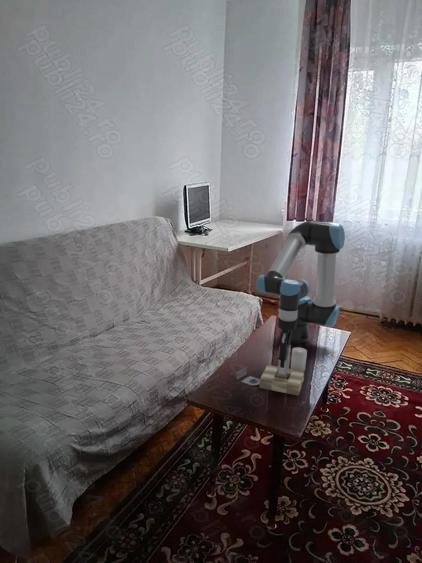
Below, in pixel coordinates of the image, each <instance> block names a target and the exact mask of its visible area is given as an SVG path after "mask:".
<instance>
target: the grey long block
mask: <svg viewBox="0 0 422 563" xmlns="http://www.w3.org/2000/svg"><path fill="white" fill-rule="evenodd" d="M291 347H292V346H291V344H290V345H288V346H287V355H286V372H285V375H283V374H278V373H279V361H280V360H279V359H278V358H279V354H278V355H277V356H278V357H277V378H282V379H287V377H288V369H290V368H289V366H290V358H291V357H290V356H291V354H290V352H291ZM279 351H280V345H279V347H278V352H279Z"/></svg>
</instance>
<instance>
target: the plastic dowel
mask: <svg viewBox="0 0 422 563" xmlns="http://www.w3.org/2000/svg"><path fill="white" fill-rule="evenodd" d="M307 353H308V350H307V349H305V348H303V347H293V348H292V351H291V357H290V358H291V359H290V360H291V361H290V369H293V370H298V371H304V372H305V371H306V363H307V355H308V354H307Z"/></svg>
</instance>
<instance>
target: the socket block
mask: <svg viewBox="0 0 422 563" xmlns="http://www.w3.org/2000/svg"><path fill="white" fill-rule="evenodd" d="M277 367H278V365H271V364H267V365H266V368H264V370H263V373H262V374H261V377H260V378H259V379H260V384H259V389H265V390H269V391H274V392H279V393H284V394H289V395H293V396H299V395H300V392H301V389H302V386H303V383H304V380H305V371H298V370H293V369H291V368H289V369H288V377H287V379H282V378H277Z"/></svg>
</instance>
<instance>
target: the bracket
mask: <svg viewBox="0 0 422 563" xmlns="http://www.w3.org/2000/svg"><path fill="white" fill-rule="evenodd" d="M246 375H247V368H246V367H245V368H244V369H242V370H239V371H237V372H236V380H239V379H241V378H243V377H245V376H246ZM240 382H241V383H244V384H246V385H249V386H260V378H256V377H254V376H251V375H249V376H247V377H245V378H244V379H242V380H240Z"/></svg>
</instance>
